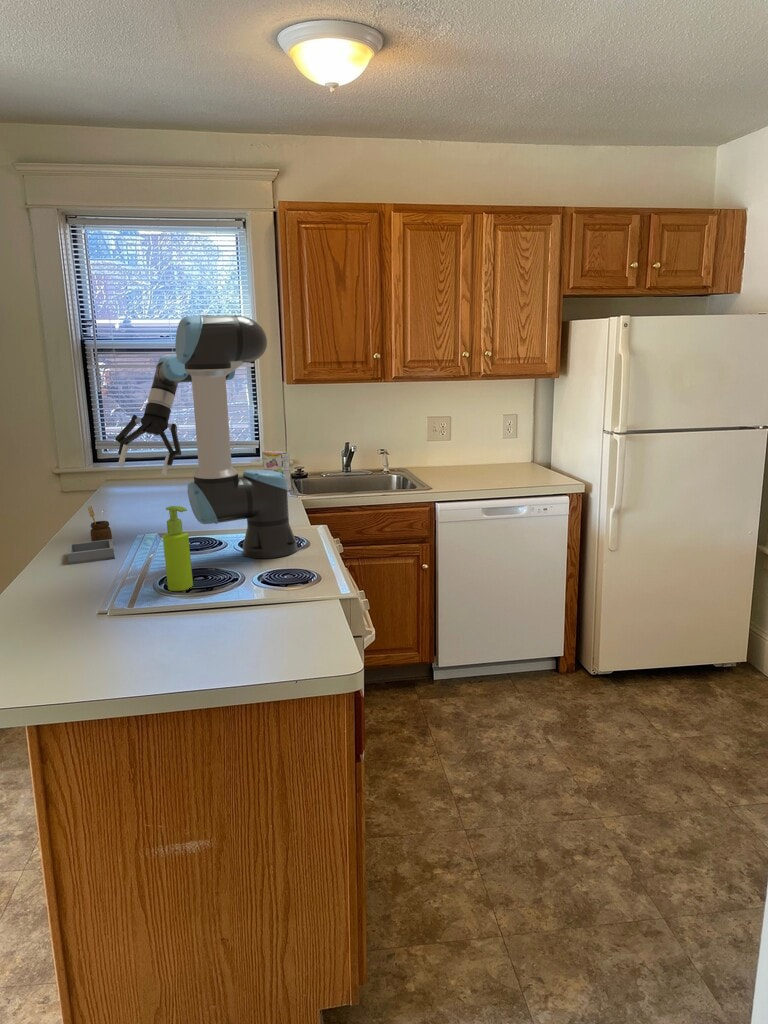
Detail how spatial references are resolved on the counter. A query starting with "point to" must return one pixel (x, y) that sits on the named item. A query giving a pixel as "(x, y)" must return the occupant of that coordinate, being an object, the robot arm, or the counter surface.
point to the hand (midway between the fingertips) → (142, 470)
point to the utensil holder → (99, 528)
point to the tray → (90, 551)
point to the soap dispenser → (177, 553)
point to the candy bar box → (278, 464)
